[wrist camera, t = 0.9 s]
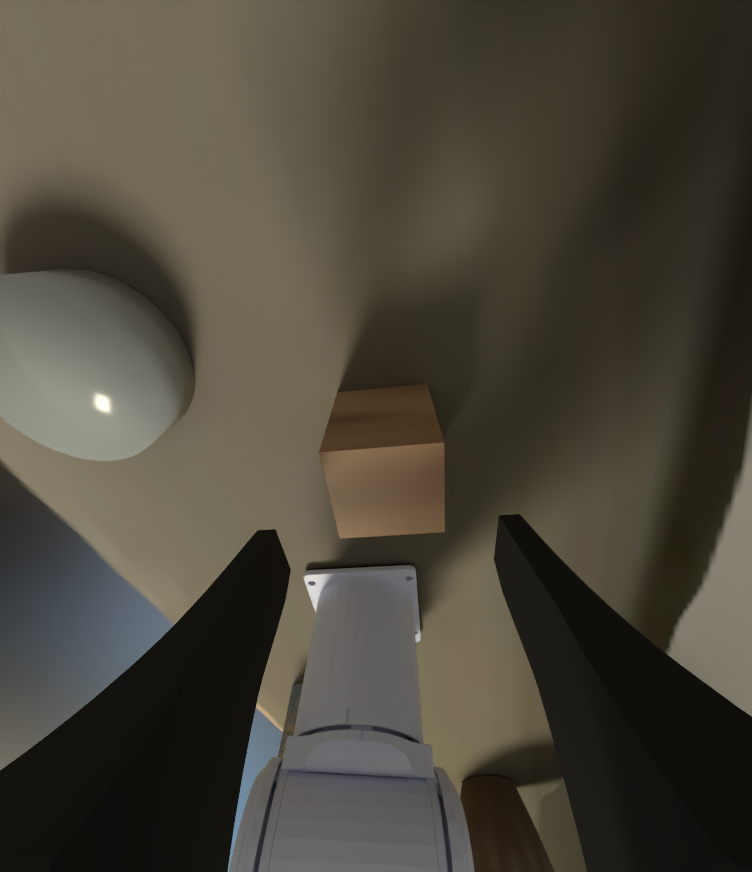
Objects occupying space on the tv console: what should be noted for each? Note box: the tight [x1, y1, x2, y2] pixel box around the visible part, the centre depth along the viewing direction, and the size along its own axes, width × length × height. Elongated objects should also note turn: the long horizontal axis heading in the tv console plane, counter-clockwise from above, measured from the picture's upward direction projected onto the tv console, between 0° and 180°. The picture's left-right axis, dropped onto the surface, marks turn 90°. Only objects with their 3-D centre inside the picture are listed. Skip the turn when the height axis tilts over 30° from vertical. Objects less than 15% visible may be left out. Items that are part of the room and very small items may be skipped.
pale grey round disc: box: [0, 269, 195, 461], centre depth 15 cm, size 8×8×3 cm
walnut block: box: [319, 384, 445, 538], centre depth 15 cm, size 4×4×6 cm
